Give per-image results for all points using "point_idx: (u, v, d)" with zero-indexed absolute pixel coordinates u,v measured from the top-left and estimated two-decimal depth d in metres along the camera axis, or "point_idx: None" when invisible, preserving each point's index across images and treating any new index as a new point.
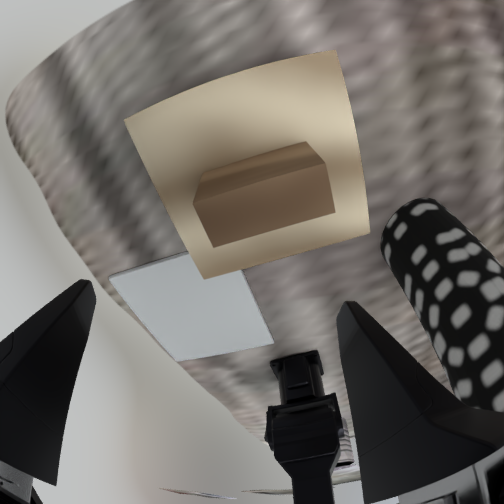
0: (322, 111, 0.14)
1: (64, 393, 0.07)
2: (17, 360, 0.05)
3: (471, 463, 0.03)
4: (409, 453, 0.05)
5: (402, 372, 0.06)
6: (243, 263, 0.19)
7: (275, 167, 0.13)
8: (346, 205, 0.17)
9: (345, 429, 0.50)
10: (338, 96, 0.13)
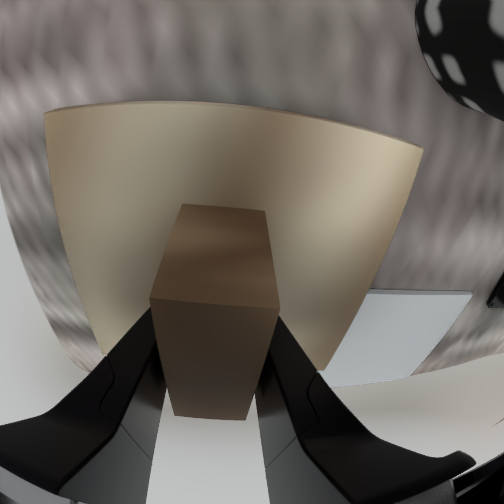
0: (135, 159, 0.07)
1: (157, 414, 0.07)
2: (124, 390, 0.05)
3: None
4: (291, 477, 0.05)
5: (289, 381, 0.06)
6: (335, 336, 0.12)
7: None
8: (344, 172, 0.08)
9: None
10: (115, 123, 0.07)
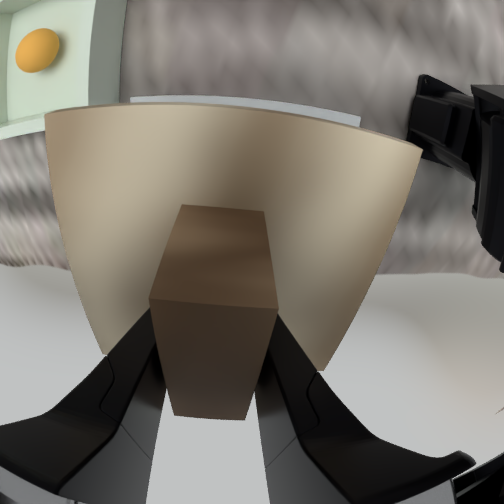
0: (135, 161, 0.07)
1: (157, 414, 0.07)
2: (124, 390, 0.05)
3: None
4: (291, 477, 0.05)
5: (289, 381, 0.06)
6: (335, 336, 0.12)
7: None
8: (343, 173, 0.08)
9: None
10: (115, 124, 0.07)
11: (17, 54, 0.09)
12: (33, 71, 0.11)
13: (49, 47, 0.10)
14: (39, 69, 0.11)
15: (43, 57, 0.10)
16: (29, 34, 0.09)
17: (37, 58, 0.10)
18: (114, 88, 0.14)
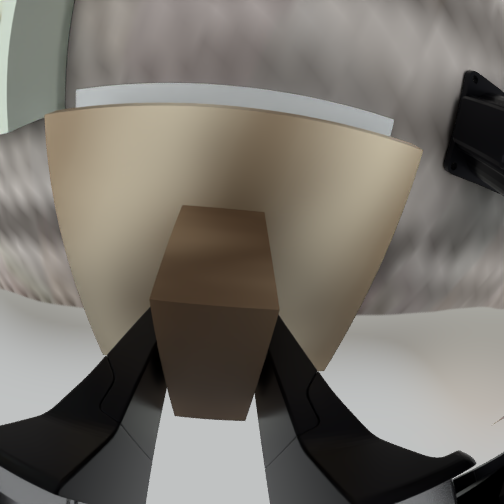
0: (136, 161, 0.07)
1: (157, 414, 0.07)
2: (124, 390, 0.05)
3: None
4: (291, 477, 0.05)
5: (289, 381, 0.06)
6: (335, 336, 0.12)
7: None
8: (343, 174, 0.08)
9: None
10: (115, 125, 0.07)
11: None
12: None
13: None
14: None
15: None
16: None
17: None
18: (56, 79, 0.09)
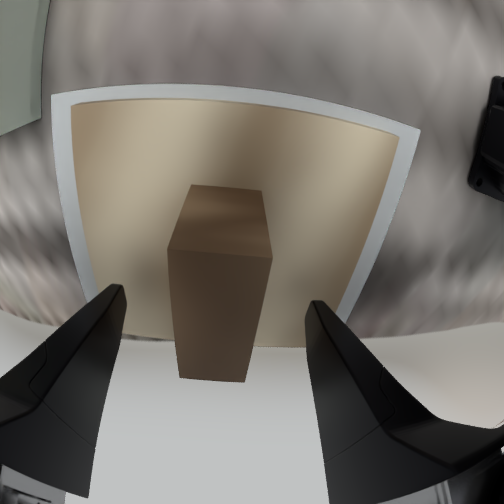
0: (152, 146, 0.09)
1: (98, 402, 0.07)
2: (53, 372, 0.05)
3: (430, 484, 0.03)
4: (368, 465, 0.05)
5: (363, 377, 0.06)
6: None
7: None
8: (328, 158, 0.09)
9: None
10: (135, 116, 0.08)
11: None
12: None
13: None
14: None
15: None
16: None
17: None
18: (29, 83, 0.07)
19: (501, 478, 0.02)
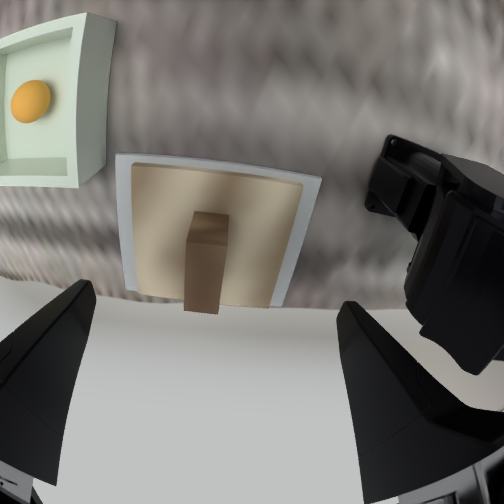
0: (175, 191, 0.19)
1: (64, 393, 0.07)
2: (17, 360, 0.05)
3: (471, 463, 0.03)
4: (409, 453, 0.05)
5: (402, 372, 0.06)
6: (270, 282, 0.24)
7: None
8: (263, 199, 0.20)
9: None
10: (167, 176, 0.18)
11: (12, 105, 0.11)
12: (26, 122, 0.13)
13: (40, 102, 0.13)
14: (31, 121, 0.13)
15: (34, 111, 0.13)
16: (22, 86, 0.11)
17: (29, 112, 0.12)
18: (101, 145, 0.17)
19: None
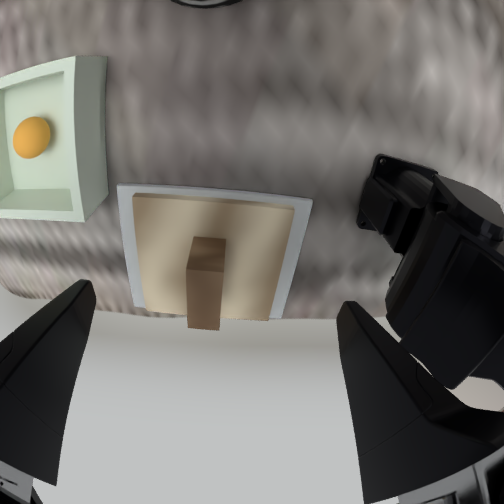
0: (174, 219, 0.21)
1: (64, 393, 0.07)
2: (17, 360, 0.05)
3: (471, 463, 0.03)
4: (409, 453, 0.05)
5: (402, 372, 0.06)
6: (268, 298, 0.26)
7: None
8: (257, 223, 0.21)
9: None
10: (166, 205, 0.20)
11: (14, 142, 0.13)
12: (29, 158, 0.15)
13: (41, 139, 0.14)
14: (34, 157, 0.15)
15: (36, 148, 0.14)
16: (23, 124, 0.13)
17: (31, 149, 0.14)
18: (102, 178, 0.19)
19: None
